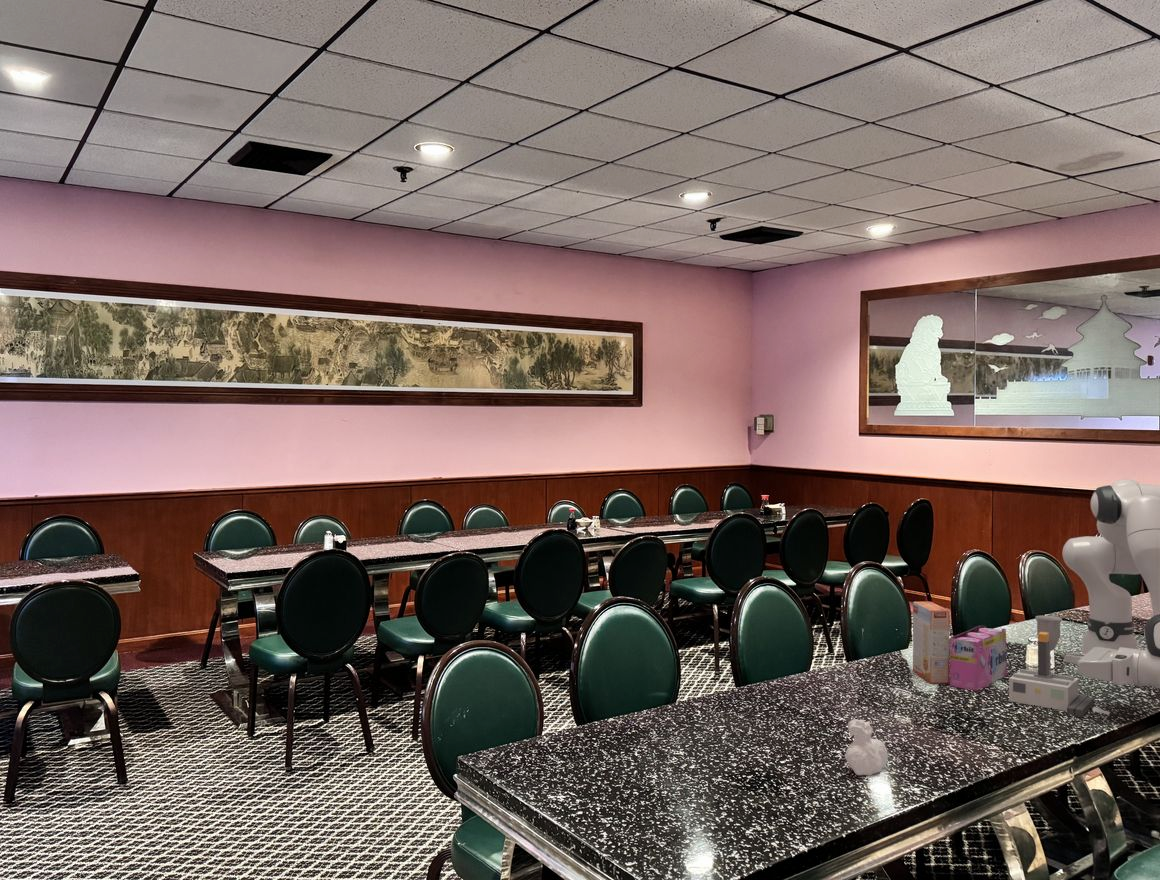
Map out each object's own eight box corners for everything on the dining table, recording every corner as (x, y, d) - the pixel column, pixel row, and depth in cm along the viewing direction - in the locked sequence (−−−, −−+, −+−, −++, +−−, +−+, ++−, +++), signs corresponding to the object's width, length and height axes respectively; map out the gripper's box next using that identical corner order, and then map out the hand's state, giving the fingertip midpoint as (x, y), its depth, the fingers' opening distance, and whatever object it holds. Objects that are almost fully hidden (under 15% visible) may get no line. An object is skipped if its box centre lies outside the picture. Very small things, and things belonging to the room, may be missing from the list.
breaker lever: (1038, 675, 243) (1038, 630, 243) (1053, 677, 241) (1053, 632, 241) (1033, 678, 240) (1033, 633, 239) (1048, 681, 237) (1048, 635, 237)
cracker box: (950, 684, 257) (950, 609, 257) (929, 684, 257) (929, 609, 257) (932, 671, 271) (932, 600, 271) (912, 671, 271) (912, 600, 271)
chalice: (1059, 686, 254) (1059, 621, 254) (1032, 682, 259) (1032, 618, 258) (1064, 680, 260) (1064, 617, 260) (1038, 676, 264) (1038, 614, 264)
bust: (881, 773, 195) (854, 724, 201) (905, 760, 191) (877, 709, 196) (845, 786, 188) (818, 734, 194) (870, 773, 183) (842, 720, 189)
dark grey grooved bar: (1081, 699, 241) (1081, 693, 241) (1096, 702, 239) (1096, 696, 239) (1067, 713, 229) (1067, 707, 229) (1082, 716, 227) (1082, 710, 227)
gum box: (981, 670, 273) (981, 624, 272) (1009, 674, 267) (1009, 628, 267) (948, 686, 255) (948, 637, 255) (977, 691, 250) (977, 641, 250)
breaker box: (1020, 692, 249) (1020, 667, 249) (1078, 701, 240) (1078, 675, 240) (1008, 701, 240) (1008, 675, 240) (1067, 711, 231) (1067, 684, 231)
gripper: (1134, 645, 236) (1075, 638, 245) (1119, 661, 220) (1055, 652, 229) (1134, 670, 236) (1075, 661, 245) (1119, 687, 220) (1055, 677, 229)
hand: (1065, 657), depth 237 cm, fingers closed
